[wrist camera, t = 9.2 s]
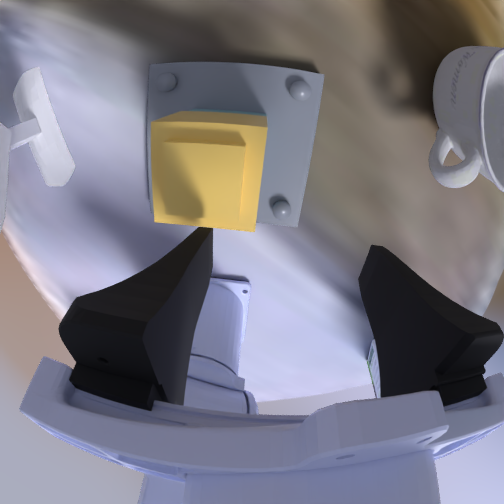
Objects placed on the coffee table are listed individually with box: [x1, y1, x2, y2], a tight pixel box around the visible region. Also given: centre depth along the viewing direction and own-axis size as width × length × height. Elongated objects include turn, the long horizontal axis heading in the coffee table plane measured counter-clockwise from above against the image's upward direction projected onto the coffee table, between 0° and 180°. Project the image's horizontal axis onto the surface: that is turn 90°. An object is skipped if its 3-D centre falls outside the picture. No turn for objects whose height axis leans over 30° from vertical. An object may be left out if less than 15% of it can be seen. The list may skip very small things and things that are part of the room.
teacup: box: [429, 46, 504, 192], centre depth 12 cm, size 14×11×8 cm
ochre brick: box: [151, 111, 268, 232], centre depth 13 cm, size 5×5×5 cm
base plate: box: [147, 62, 324, 227], centre depth 17 cm, size 12×12×5 cm
